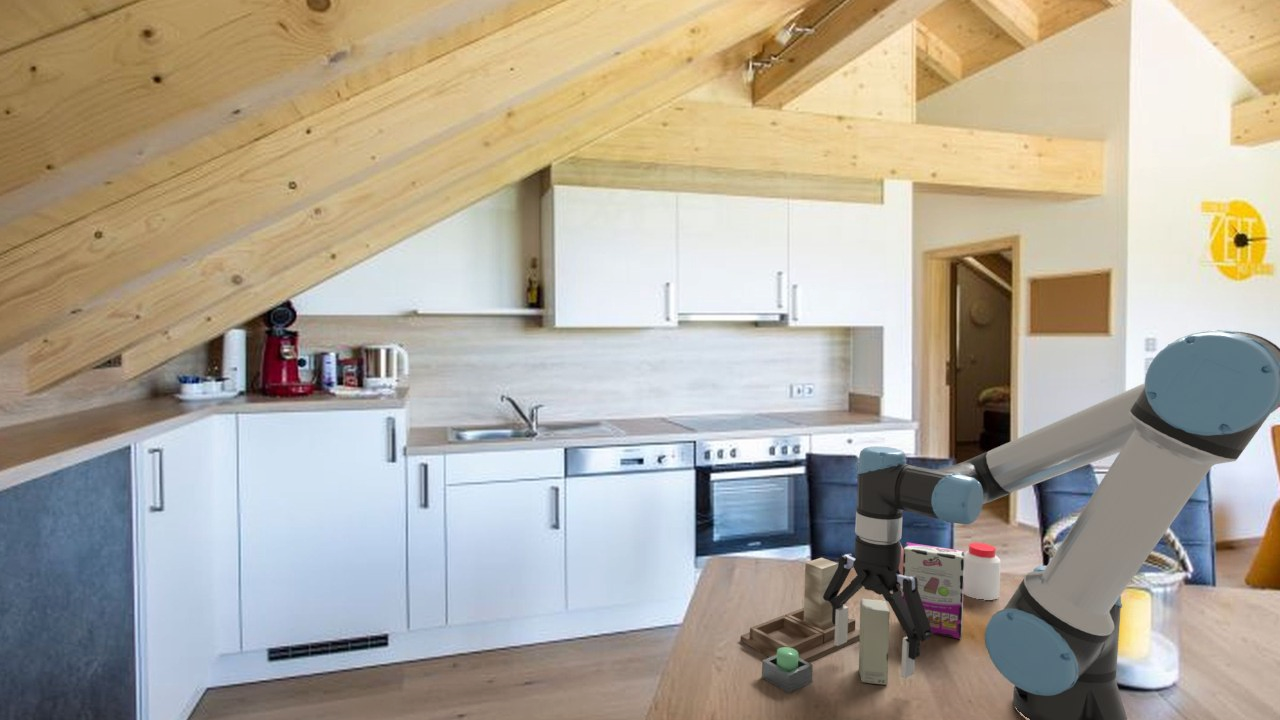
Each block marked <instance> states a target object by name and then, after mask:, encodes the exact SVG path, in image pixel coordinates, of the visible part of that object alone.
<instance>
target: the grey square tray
mask: <svg viewBox="0 0 1280 720" xmlns="http://www.w3.org/2000/svg"><path fill="white" fill-rule="evenodd" d="M813 669H814V668H813V664H811V662H809V663H808V662H806V661H804V660H802V659H800V658H799V657H798V668H797V669H795V670H792V671H790V672H788V671H786V670H784V669H782V668H780V667H779V666H777V654H776V655H774V656H772V657H769V656H768V658H765V659H763V660H761V678H762V679H763V680H766V681H767V682H769V683H770V684H772V685H774V686H776V687H778V688H779V689H781V690H782V691H784V692H785V693H788V694H790V693H792V692H794V691H796V690H798V689H800V688H801V689H802V687H805V686H808V685H809V684H811V683H813Z"/></svg>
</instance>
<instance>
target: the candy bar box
mask: <svg viewBox="0 0 1280 720" xmlns="http://www.w3.org/2000/svg"><path fill="white" fill-rule="evenodd" d="M903 549H904V555H903V575H904V576H908V577H910V576H916V577H917V581H918V592H919V595H920V598H921V601H922V604H923V607H924V610H925V613H926V615H927V618H928V621H929V624H930V627H931V630H932V633H933V635H937V636H942V637H948V638H953V639H957V640H958V639H959V640H961V639H962V632H963V619H964V618H963V615H964V613H963V612H964V611H963V610H964V594H963V592H964V559H965V552H966V551H965V550H960V549H953V548H946V547H940V546H932V545H926V544H918V543H913V542H906V544H905V546H904V548H903ZM901 592H902V597H903V599H904V601H905V603H906V600H905V597H904V593H903V589H901ZM906 605H907V603H906Z"/></svg>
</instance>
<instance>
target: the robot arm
mask: <svg viewBox="0 0 1280 720" xmlns="http://www.w3.org/2000/svg"><path fill="white" fill-rule="evenodd" d="M1152 359H1153V360H1151V363H1150V364H1149V367H1148V368H1147V371H1146V374H1145V378H1144V379H1145V380H1144V382H1143V383H1142V384H1139V385H1137V386H1135V387H1133V388H1130V389H1128V390H1126V391H1123V392H1121V393H1119V394H1117V395H1114V396H1112V397H1109V398H1107V399H1105V400H1103V401H1100V402H1098V403H1096V404H1094V405H1091V406H1088V407H1087V408H1085V409H1084V408H1083V410H1080V411H1077V412H1076V413H1072V414H1071V415H1069V416H1066V417H1063V418H1062V419H1059V420H1056V421H1055V422H1052V423H1049V424H1047V425H1045V426H1043V427H1040V428H1038V429H1037V430H1033V431H1032V432H1029V433H1027V434H1025V435H1023V436H1019V437H1018V438H1016V439H1014V440H1011V441H1009V442H1006V443H1004V444H1001V445H1000V446H997V447H994V448H992V449H991V450H988V451H987V452H986V451H985V452H984V453H981V454H979V455H977V456H974V457H972V458H970V459H967V460H965V461H963V462H959V463H956V464H952V465H948V466H945V467H941V468H938V469H933V468H927V467H920V466H915V465H911V464H907V460H906V459H907V458H906V457H907V456H906V453H905V452H904V451H903V449H902V450H901V449H898V448H895V447H891V446H890V447H889V446H868V447H864V448H862V449H861V450H860V452H859V454H858V455H859V456H858V458H859V459H858V466H857V471H856V475H857V486H856V487H857V488H856V489H857V492H856V493H857V494H856V495H857V497H856V511H855V527H854V528H855V529H854V533H855V534H856V536H855V538H854V556H853V554H852V553H845V554H843V555H840V556H839V557H838V568H837V570H836V572H835V574H834V576H833V578H832V580H831V582H830V583H829V585H828V587H827V589H826V591H825V593H824V595H823V598H824V600H825V601H829V602H830V603H831V605H832V607H833V610H832V622H833V624H835V641H834V644H835V645H837V646H839V645H841V644H843V643H846V642H847V631H848V617H849V606H847V605H845V604H847V602H848V601H849V600H850V599H852V598H853V596H854V595H855V594H857V592H859V590H861V589H862V588H863V587H864V590H867V591H872V592H874V593H875V594H878V595H879V596H880V595H882V596H883V598H884V601H886V602H887V603H889V604H888V605H890V607H891V609H892V611H893V612H894V615H895V616H896V618H897V621H898V622H899V624H900V627H901V628H902V629H903V632H904V633H905V636H904V637H903V638H902V646H901V648H902V649H901V668H900V669H901V671H900V677H901V678H903V679H907V678H909V677H911V676H913V675H914V674H915V667H916V665H915V664H916V659H918V658H919V657H920V655H921V643H922V642H925V641H927V640H929V639H932V638H933V636H934V634H933V633H932V630H931V627H930V624H929V621H928V618H927V615H926V613H925V610H924V607H923V604H922V601H921V598H920V595H919V592H918V581H917V577H916V576H910V577H908V576H904V575H901V574H900V571H899V565H900V561H901V545H902V543H901V541H900V540H901V539H902V536H903V535H902V531H903V530H902V529H903V515H904V513H903V512H904V511H905V512H909V513H914V514H917V515H920V516H924V517H925V516H926V517H929V518H933V519H936V520H941V521H942V522H945V523H948V524H949V523H950V524H952V523H953V524H960V525H965V526H966V525H971V524H973V523H974V522H975V521H976V520H977V517H979V516H980V515H981V512H982V509H983V505H985V504H988V503H991V502H994V501H996V500H997V499H1000V498H1003V497H1005V496H1008V495H1010V494H1012V493H1015V492H1018V491H1021V490H1023V489H1026V488H1029V487H1031V486H1033V485H1036V484H1039V483H1042V482H1045V481H1048V480H1049V479H1053V478H1055V477H1058V476H1060V475H1063V474H1066V473H1068V472H1069V473H1070V472H1071V471H1074V470H1076V469H1079V468H1081V467H1084V466H1088V465H1090V464H1093V463H1094V462H1098V461H1100V460H1103V459H1105V458H1108V457H1111V456H1113V455H1116V454H1118V455H1117V456H1116V458H1115V459H1114V461H1113V463H1112V464H1111V466H1110V467H1109V469H1108V470H1107V472H1106V473H1105V475H1104V477H1102V480H1101V481H1100V483H1099V484H1098V485H1097V487H1096V488H1095V490H1094V492H1093V493H1092V495H1091V497H1090V498H1089V500H1088V501H1087V503H1086V504H1085V506H1084V508H1082V509H1083V510H1082V511H1081V512H1080V514H1079V515H1078V517H1077V518H1076V520H1075V521H1074V523H1073V525H1072V526H1071V528H1070V529H1069V531H1068V533H1067V534H1066V536H1065V537H1064V538H1063V540H1062V542H1061V543H1060V545H1059V547H1057V549H1056V551H1055V553H1054V555H1053V556H1052V557H1051V559H1050V561H1049V562H1048V564H1047V565H1038V566H1036V567H1035V568H1034V569H1033V571H1031V572H1028V573H1026V575H1025V576H1024V578H1023V579H1022V581H1021V582H1020V583H1019V585H1018V586H1017V588H1016V590H1015V591H1014V593H1013V594H1012V597H1011V598H1010V599H1009V601H1008V602H1007V604H1006V605H1005V606H1004V608H1003V609H1000V610H998V611H996V613H994V614H992V615H991V618H990V620H989V621H988V622H987V625H986V626H985V631H984V645H985V648H986V650H987V652H988V655H989V659H990V661H991V662H992V664H993V665H994V667H995V668H996V670H997V671H998V672H999V673H1000V674H1001V675H1002V676H1003V677H1004V678H1005V679H1006V680H1007V681H1008V682H1010V683H1011V684H1012V685H1014V687H1013V692H1012V693H1013V697H1012V703H1014V705H1013V706H1015V707H1016V708H1017V710H1018V711H1019V712H1021V713H1022V714H1023V715H1024V716H1025V717H1027V718H1029V719H1030V720H1128V715H1127V713H1126V709H1125V706H1124V703H1123V699H1122V697H1121V694H1120V690H1119V687H1118V684H1117V667H1118V655H1119V637H1120V623H1121V622H1120V621H1121V609H1122V608H1123V604H1122V597H1121V596H1122V594H1123V592H1124V591H1125V590H1126V588H1127V587H1128V586H1129V584H1130V583H1131V581H1132V580H1133V579H1134V578H1135V576H1136V574H1137V573H1138V572H1139V570H1140V569H1141V568H1142V566H1143V565H1144V563H1145V562H1146V560H1147V559H1148V558H1149V556H1150V555H1151V553H1152V552H1153V550H1154V549H1156V548H1155V547H1157V545H1158V544H1159V542H1160V540H1161V539H1162V537H1164V535H1165V533H1166V532H1167V531H1168V529H1169V528H1170V527H1171V525H1172V523H1174V521H1175V519H1176V518H1177V517H1178V515H1179V514H1180V513H1181V511H1182V510H1183V508H1184V506H1185V505H1186V504H1187V503H1188V502H1189V500H1190V498H1191V497H1192V495H1193V494H1194V493H1195V492H1196V490H1197V488H1198V487H1199V485H1200V484H1201V483H1202V481H1203V480H1204V479H1205V477H1206V475H1207V474H1208V473H1209V472H1210V470H1211V468H1212V467H1213V466H1215V465H1220V464H1226V463H1233V462H1236V461H1237V460H1238V459H1239V458H1240V456H1241V454H1242V453H1243V451H1245V449H1246V448H1247V446H1248V445H1249V444H1250V442H1251V441H1252V439H1253V438H1254V437H1255V435H1256V434H1257V432H1258V431H1259V430H1260V429H1261V427H1262V426H1263V424H1264V423H1265V421H1266V420H1267V419H1268V418H1269V416H1270V414H1273V413H1274V412H1275V411H1277V410H1278V409H1279V408H1280V347H1279V346H1278V345H1277V344H1276V343H1274V342H1272V341H1270V340H1268V339H1267V338H1265V337H1262V336H1259V335H1258V334H1253V333H1250V332H1243V331H1231V330H1221V329H1220V330H1219V329H1217V330H1203V331H1198V332H1194V333H1190V334H1187V335H1185V336H1182V337H1179V338H1178V339H1176V340H1174V341H1173V342H1171V343H1169V344H1167V346H1165V347H1164V348H1163V349H1162V350H1160V351H1159V352H1158V353H1157V354H1156V356H1155V357H1154V358H1152ZM852 569H854V571H855V573H856V576H855V577H854V578H853V579H852V580H851V581H850V583H849V584H848V585H847V586H846V587H845V588H844V589H843V590H842V591H841V589H842V587H843V585H844V584H845V582H846V579H847V578H848V576H849V574H850V572H851V570H852ZM898 584H900V585H898ZM902 589H903V593H904V597H905V600H906V603H907V605H906V603H905V601H904V599H903V597H902ZM840 591H841V592H840ZM891 591H892V593H891ZM1015 707H1014V708H1015Z"/></svg>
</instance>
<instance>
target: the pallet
mask: <svg viewBox="0 0 1280 720" xmlns="http://www.w3.org/2000/svg"><path fill="white" fill-rule="evenodd" d="M838 563H839V562H838ZM838 563H837V562H835V561H832V560H830V559H827V558H824V557H819V558H816V559H813V560H810V561H806V562H805V565H804V566H805V567H804V569H805V570H804V593H803V595H804V600H803V607H802V608H799V609H797V610H794V611H791V612H790V613H786V614H783V615H781V616H778V617H776V618H772V619H771V620H767V621H765V622H762V623H760V624H757V625H755V626H753V627H752V626H751V627H749V632H746V633H745V634H742V635H740V639H739V640H740V642H741V643H743V644H745V645H747V646H749V647H751V648H753V649H755V650H756V651H758V652H760V653H761V654H763V655H766V656H768V658H769V657H772V656H774V655H776V654H777V650H778V649H779V648H782V647H789V648H793V649H795V650H796V651H797V652H798V657H799V658H800V659H802V660H804V661H806V662H808V663H811V662H813V661H816V660H818V659H820V658H823V657H824V656H827V655H829V654H832V653H834V652H836V651H838V650H840V649H842V648H845V647H847V646H849V645H851V644H853V643H855V642H859V640H860V629H858V628H856V620H855V619H853V618H852V617H849V616H848V631H847V642H846V643H843V644H841V645H839V646H837V645H835V644H834V641H835V624H833V622H832V610H833V607H832V605H831V603H830V602H829V601H825V600H824V598H823V595H824V593H825V591H826V589H827V587H828V585H829V583H830V582H831V580H832V578H833V576H834V574H835V572H836V570H837V568H838Z"/></svg>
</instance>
